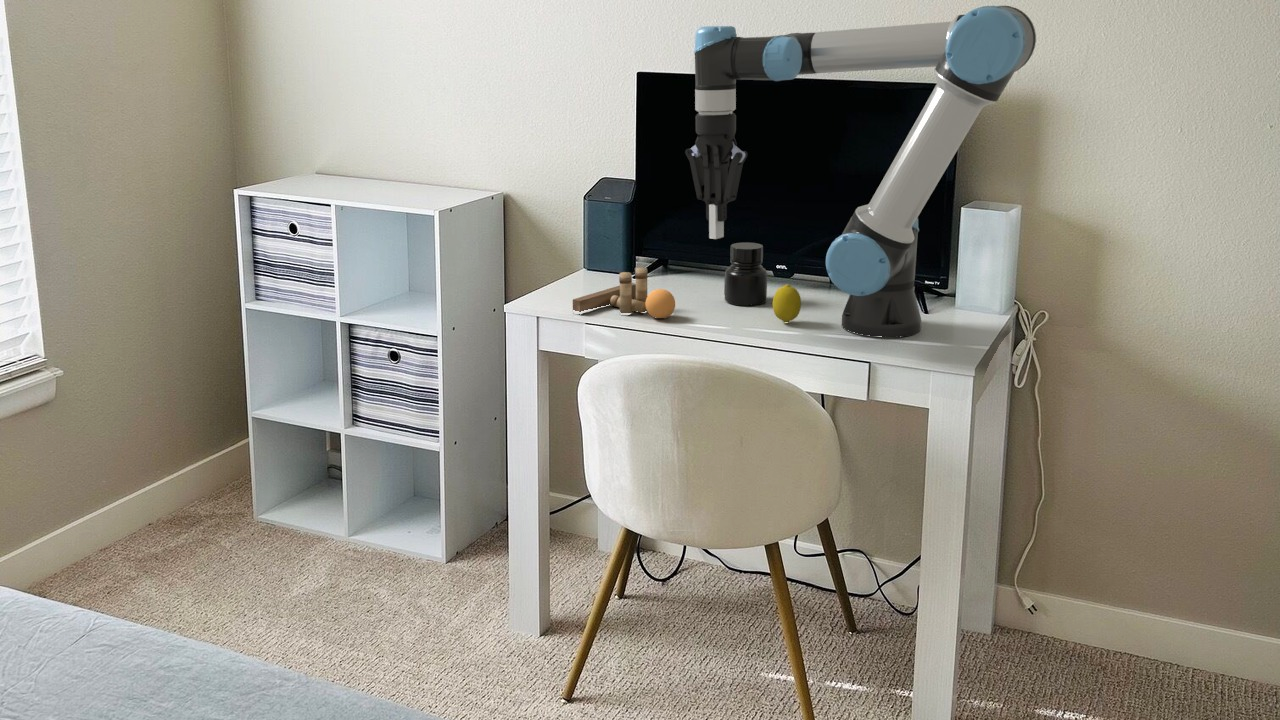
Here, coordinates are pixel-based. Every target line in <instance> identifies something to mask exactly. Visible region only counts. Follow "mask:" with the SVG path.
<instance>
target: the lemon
mask: <svg viewBox="0 0 1280 720" xmlns="http://www.w3.org/2000/svg"><path fill="white" fill-rule="evenodd" d="M801 300H802V299H801V294H800V293H799V291H798V290H797V288H795V287H793V286H791V285H790V284H788V283H786V284H785V285H784V286H781V287H779V288H778V289H777V290H776V291H775V293H774V296H773V299H772V309H773V310H772V311H773V313H774V315H775V317H776V318H777V319H778V320H781V321H782V322H783V323H784V322H788V323H789V322H790V321H793V320H795V318H797V317H798V315H799V314H800V312H801V309H802V301H801Z"/></svg>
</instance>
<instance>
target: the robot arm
mask: <svg viewBox="0 0 1280 720" xmlns="http://www.w3.org/2000/svg"><path fill="white" fill-rule="evenodd" d="M737 35H738V34H737V30H736V28H735V26H733V25H716V26H715V25H713V26H707V25H706V26H700V27H699V28H697V29H696V30H695V36H694V37H695V39H694V51H693V54H694V74H695V77H694V78H695V89H694V92H695V93H694V97H695V99H694V100H695V101H694V104H695V105H694V107H695V108H694V110H695V111H696V112H697V114H696V115H695V133H696V134H697V137H696V139H695V142H694V143H695V144H694V145H693V146H692V147H691V148H686V149H685V151H684V153H685V155H686V157H687V159H688V161H689V165H690V170H691V175H692V180H693V185H694V189H695V194H696V198H697V200H699V201H700V200H701V201H702V202H704V203H705V219H706V220H707V221H708V232H709V233H708V238H709V239H713V240H718V239H722V238H724V237H725V235H724V234H725V230H724V229H725V226H724V225H725V221H727V218H728V215H727V214H728V209H727V208H728V203H730V202H731V203H732V202H733V201H735V200H737V196H738V190H739V185H740V181H741V177H742V170H743V166H744V163H745V161H746V159H747V158H748V152H747V151H746V150H744V151H743V150H741V148H739V147H738V146H737V145H738V144H737V141H736V138H735V135H736V132H737V115H736V113H734V111H735V110H737V107H736V106H737V105H736V104H737V103H736V102H737V97H736V96H737V94H736V92H737V90H736V89H737V84H736V83H737V80H738V81H742V80H743V81H744V80H745V81H747V80H748V81H749V80H753V81H774V82H781V81H791V80H794V79H795V78H797V77H798V76H801V75H802V76H803V75H815V74H827V73H828V74H829V73H831V74H832V73H847V72H849V73H850V72H864V71H878V70H879V71H881V70H883V71H884V70H898V69H899V70H900V69H903V70H904V69H917V68H919V69H920V68H933V67H934V75H935V79H936V84H935V86H934V88H933V90H932V92H931V93H930V95H929V97H928V98H927V101H926V102H925V105H924V106H923V108H922V109H921V111H920V113H919V115H918V117H917V118H916V120H915V122H914V124H913V126H912V127H911V129H910V130H909V132H908V134H907V136H906V138H905V140H904V141H903V143H902V145H901V147H900V148H899V150H898V152H897V153H896V155H895V157H894V159H893V161H892V162H891V164H890V166H889V168H888V169H887V171H886V173H885V174H884V176H883V179H882V180H881V182H880V184H879V186H878V187H877V188H876V191H875V193H874V194H873V195H872V198H871V199H870V201H869V203H868V204H864V205H861V206H858V207H857V208H855V210H854V212H853V214H852V216H851V217H850V218H849V221H848V222H847V224H846V226H845V228H844V230H843V231H842V232H841V233H842V234H841V235H839V236H838V237H836V238H835V239H834V240H833V241H832V242H831V244H830V246H829V248H828V249H827V252H826V256H825V267H826V268H825V269H826V273H827V274H828V277H829V279H830V281H831V283H833V285H834V286H836V288H838V289H839V290H840V291H842V292H843V293H845V294H848V298H847V301H846V303H845V306H844V309H843V312H842V315H841V327H842V326H843V327H842V329H844V328H845V329H846V330H845V329H844V330H845V331H847V330H849V331H851V332H855V333H858V334H863V335H870V336H882V337H896V338H901V337H900V336H905V337H909V336H908V335H910V336H913V335H912V334H914V335H915V334H918V333H919V332H920V331H921V328H922V327H921V326H922V325H921V324H922V317H921V312H920V308H919V306H918V302H917V298H916V297H917V296H916V293H915V278H916V265H917V250H918V249H917V248H918V235H919V232H920V228H919V216H920V214H921V213H922V210H923V209H924V207H925V206H926V204H927V202H928V201H929V199H930V197H931V195H932V194H933V192H934V191H935V189H936V187H937V186H938V183H939V182H940V180H941V178H942V177H943V175H944V174H945V172H946V170H947V169H948V167H949V165H950V163H951V162H952V160H953V158H954V156H955V155H956V153H957V152H958V150H959V148H960V147H961V144H962V143H963V141H964V139H966V136H967V134H968V133H969V132H970V130H971V127H972V126H973V125H974V123H975V121H976V119H977V118H978V116H979V114H980V112H981V111H982V109H984V107H988V106H990V105H993V104H996V103H998V100H999V98H1000V97H1001V96H1002V94H1003V92H1004V90H1005V88H1007V86H1008V84H1009V82H1010V80H1011V78H1012V77H1013V75H1014V74H1015V73H1016V72H1017V71H1019V70H1020V69H1022V67H1024V66H1026V64H1027V63H1028V62H1029V60H1031V59H1030V58H1032V55H1033V54H1034V51H1035V48H1036V45H1037V44H1036V43H1037V33H1036V28H1035V25H1034V23H1033V21H1032V20H1031V18H1030V17H1029V16H1028V15H1027V14H1026V13H1025V12H1024V11H1022V10H1021V9H1019V8H1017V7H1013V6H1011V5H984V6H980V7H977V8H976V7H975V9H972V10H970V11H968V12H967V13H965V14H958V15H956V16H955V18H954V19H953V20H952V21H943V22H942V21H941V22H930V23H928V22H927V23H916V24H904V25H903V24H902V25H891V26H879V27H878V26H877V27H866V28H865V27H864V28H853V29H852V28H851V29H842V30H840V29H839V30H828V31H817V32H794V33H793V32H792V33H788V34H782V35H771V36H754V37H753V36H751V37H749V36H748V37H743V36H742V37H741V36H737ZM730 160H731V161H730ZM849 331H848V332H849ZM851 332H850V333H851ZM858 334H857V335H858ZM863 335H862V336H863Z"/></svg>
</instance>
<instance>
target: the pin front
mask: <svg viewBox="0 0 1280 720" xmlns="http://www.w3.org/2000/svg"><path fill="white" fill-rule="evenodd" d="M645 303H646V302H642V301H638V300H636V299H632V312H634V311H638V312H645V311H647V309H646V305H645ZM610 305H611V307H612V306H614V307H613V308H615V307H619V308H618V309H620V296H616V295H614V296H612V297H611V299H610ZM638 312H637V313H638ZM647 312H648V311H647Z"/></svg>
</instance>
